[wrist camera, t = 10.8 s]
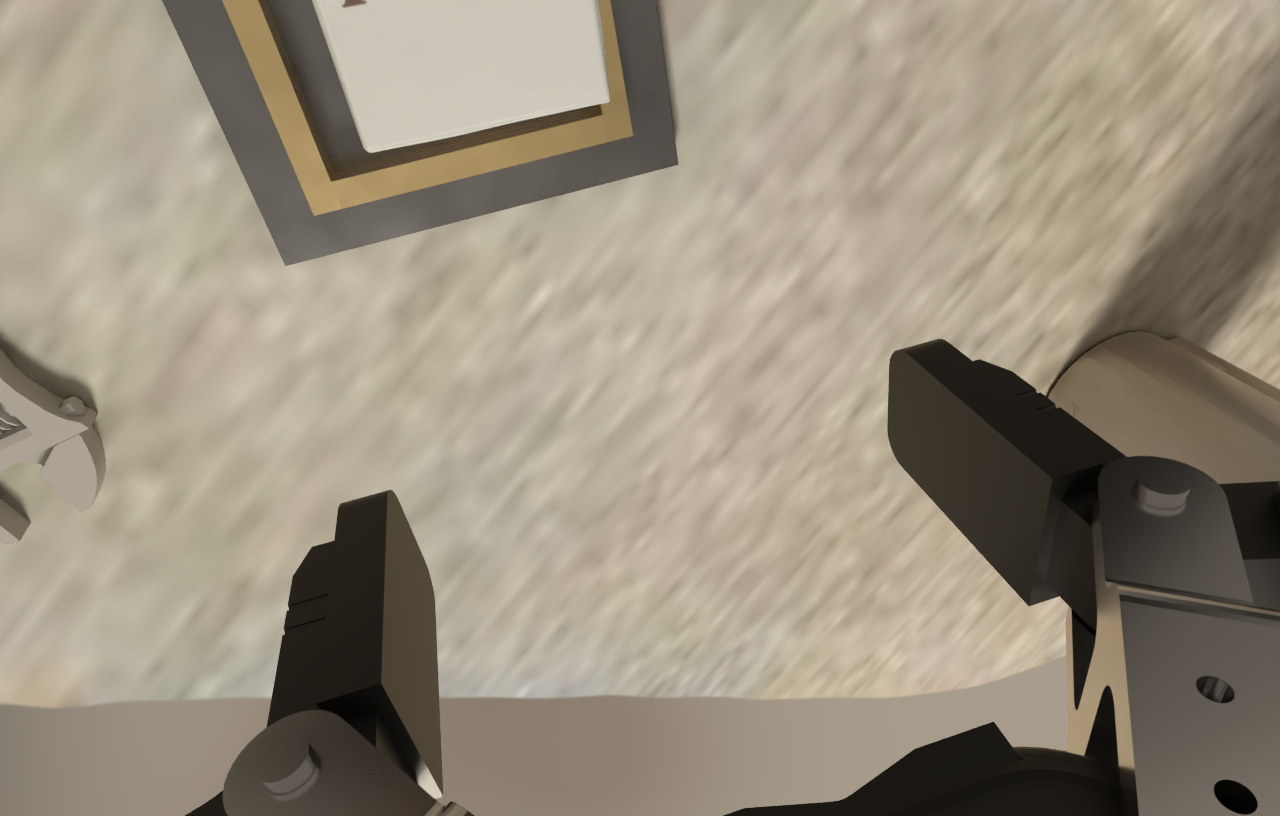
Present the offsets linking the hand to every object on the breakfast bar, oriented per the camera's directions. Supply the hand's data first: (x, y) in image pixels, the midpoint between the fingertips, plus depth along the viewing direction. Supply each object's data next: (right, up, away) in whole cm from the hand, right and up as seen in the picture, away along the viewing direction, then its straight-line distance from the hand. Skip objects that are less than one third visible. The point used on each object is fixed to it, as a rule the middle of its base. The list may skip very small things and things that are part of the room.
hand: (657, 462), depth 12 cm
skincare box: (-7, +15, +14) cm, 22 cm away
